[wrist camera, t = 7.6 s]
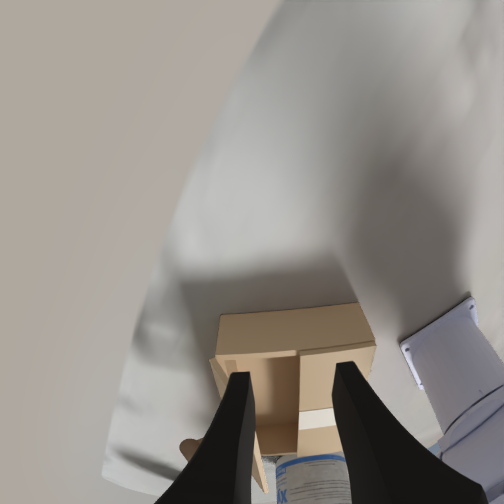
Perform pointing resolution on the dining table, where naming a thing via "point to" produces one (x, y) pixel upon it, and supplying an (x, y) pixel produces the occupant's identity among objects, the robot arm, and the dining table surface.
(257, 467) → the far flap
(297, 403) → the carton
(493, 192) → the dining table surface
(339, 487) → the supplement tub
